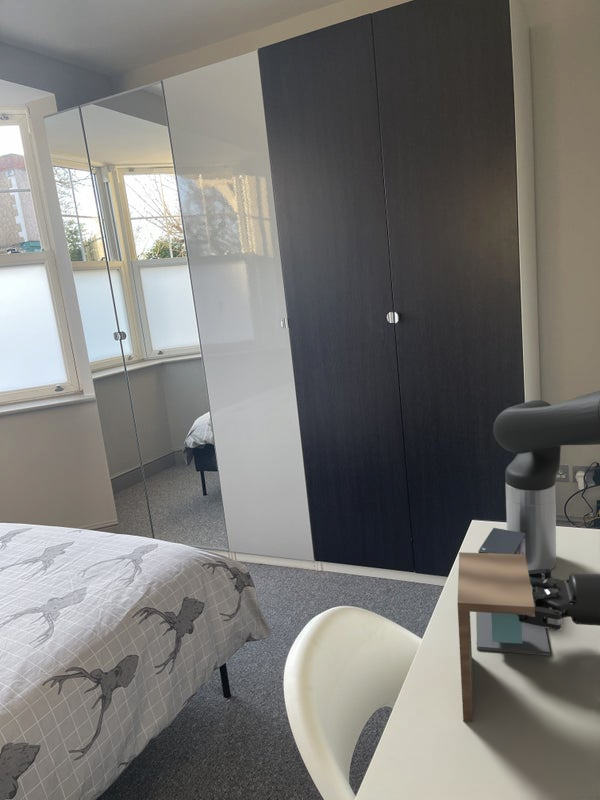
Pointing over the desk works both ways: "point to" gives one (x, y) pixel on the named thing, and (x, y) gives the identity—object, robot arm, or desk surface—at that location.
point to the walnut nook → (488, 601)
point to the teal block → (506, 628)
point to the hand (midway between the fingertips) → (487, 593)
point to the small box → (504, 542)
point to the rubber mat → (531, 643)
